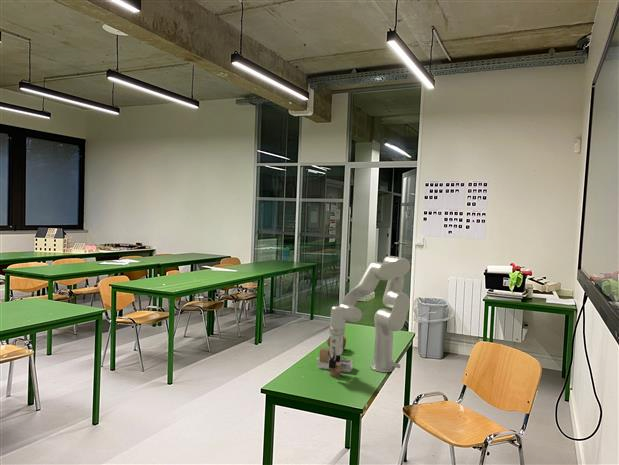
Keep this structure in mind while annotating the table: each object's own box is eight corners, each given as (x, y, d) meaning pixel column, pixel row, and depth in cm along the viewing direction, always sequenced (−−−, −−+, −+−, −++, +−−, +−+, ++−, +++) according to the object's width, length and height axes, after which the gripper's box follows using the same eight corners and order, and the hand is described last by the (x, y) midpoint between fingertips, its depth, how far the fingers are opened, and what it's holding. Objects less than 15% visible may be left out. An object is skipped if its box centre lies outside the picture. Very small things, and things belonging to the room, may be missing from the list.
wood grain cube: (340, 374, 221) (341, 362, 221) (338, 377, 217) (339, 365, 217) (330, 372, 223) (331, 361, 223) (328, 375, 219) (328, 363, 218)
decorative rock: (342, 354, 254) (343, 337, 254) (323, 351, 259) (324, 334, 258) (348, 348, 267) (349, 332, 266) (331, 345, 271) (331, 329, 270)
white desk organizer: (352, 367, 232) (353, 350, 232) (349, 372, 224) (350, 355, 224) (321, 363, 237) (322, 346, 237) (317, 367, 229) (318, 350, 229)
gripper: (340, 336, 210) (337, 371, 210) (347, 328, 226) (345, 361, 227) (325, 333, 212) (322, 368, 212) (333, 326, 228) (331, 359, 229)
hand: (334, 365), depth 219 cm, fingers open, 9 cm apart
